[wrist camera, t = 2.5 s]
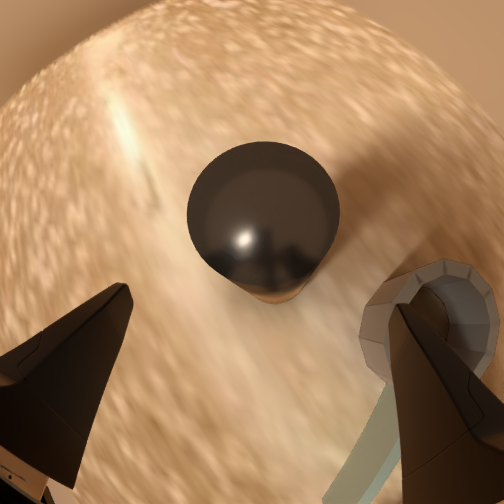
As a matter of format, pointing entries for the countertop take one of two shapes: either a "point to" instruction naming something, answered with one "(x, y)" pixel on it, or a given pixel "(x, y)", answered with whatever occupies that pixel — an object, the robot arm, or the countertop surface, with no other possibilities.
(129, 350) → the countertop surface
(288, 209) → the hinge pin
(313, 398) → the countertop surface
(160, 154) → the countertop surface
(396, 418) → the grey forked piece
